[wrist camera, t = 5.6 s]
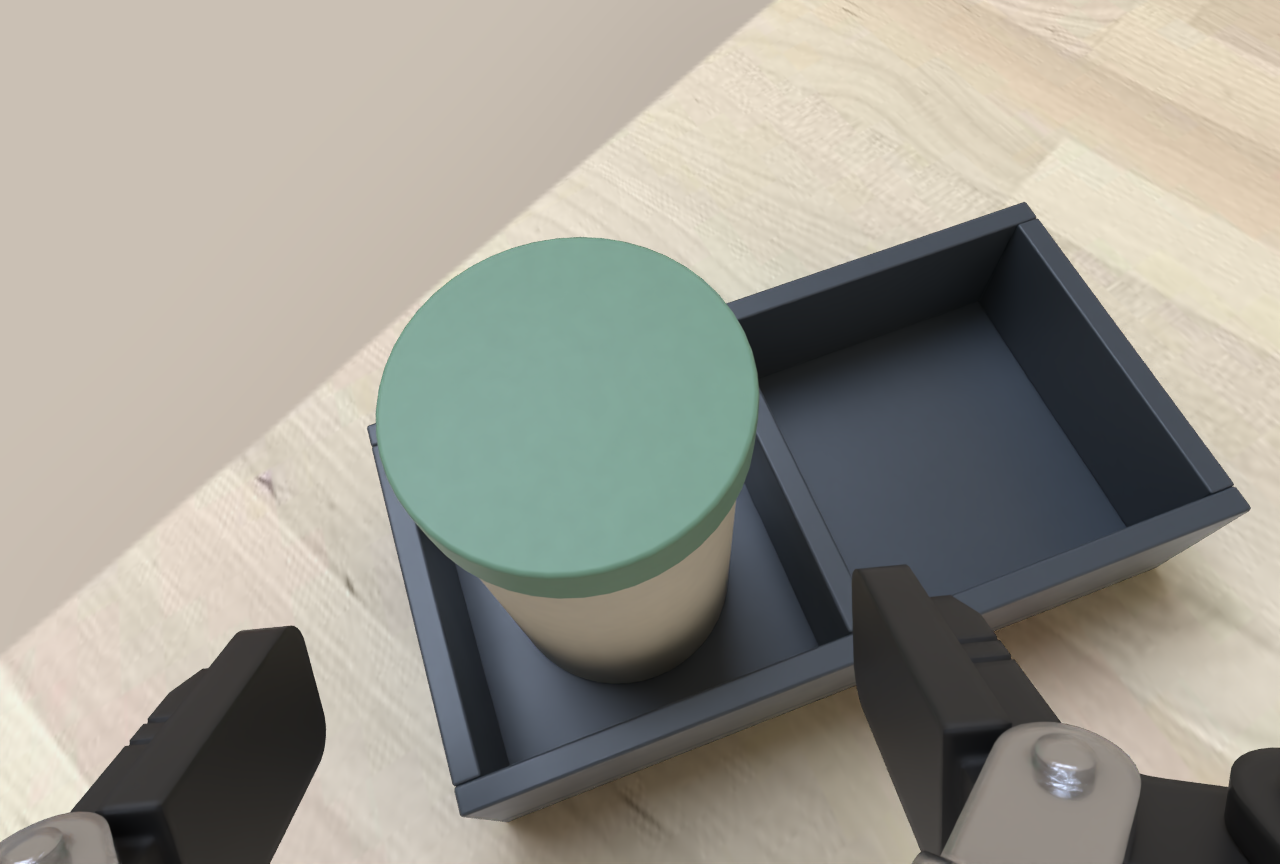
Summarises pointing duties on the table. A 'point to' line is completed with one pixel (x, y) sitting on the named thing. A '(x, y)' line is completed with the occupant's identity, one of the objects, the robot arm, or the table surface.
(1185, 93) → the table surface
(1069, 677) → the table surface
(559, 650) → the container
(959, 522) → the divided tray
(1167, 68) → the table surface
